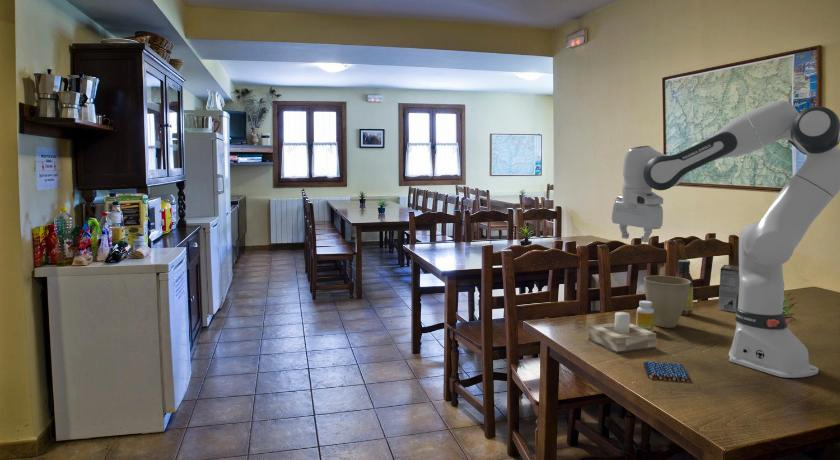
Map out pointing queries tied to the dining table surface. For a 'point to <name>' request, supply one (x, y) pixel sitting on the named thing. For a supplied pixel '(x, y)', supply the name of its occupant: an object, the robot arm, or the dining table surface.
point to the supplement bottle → (645, 315)
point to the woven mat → (666, 371)
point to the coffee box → (729, 288)
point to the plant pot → (666, 298)
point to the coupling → (622, 323)
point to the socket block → (622, 338)
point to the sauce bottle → (685, 274)
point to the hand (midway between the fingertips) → (634, 240)
